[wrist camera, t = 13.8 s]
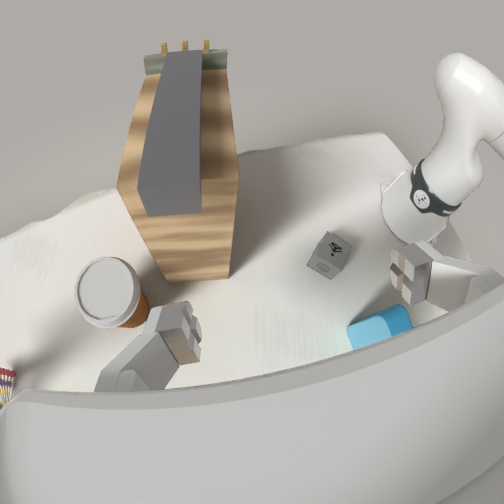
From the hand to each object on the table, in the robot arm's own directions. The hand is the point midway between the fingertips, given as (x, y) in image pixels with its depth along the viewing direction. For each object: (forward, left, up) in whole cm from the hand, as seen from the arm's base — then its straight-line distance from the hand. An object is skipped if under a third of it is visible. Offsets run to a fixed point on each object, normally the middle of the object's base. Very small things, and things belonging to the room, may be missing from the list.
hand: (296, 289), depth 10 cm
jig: (-3, -21, -33) cm, 39 cm away
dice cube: (-20, -5, -34) cm, 40 cm away
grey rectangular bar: (-3, -19, -7) cm, 20 cm away
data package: (-17, +13, -34) cm, 40 cm away
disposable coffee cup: (+13, -14, -34) cm, 38 cm away
